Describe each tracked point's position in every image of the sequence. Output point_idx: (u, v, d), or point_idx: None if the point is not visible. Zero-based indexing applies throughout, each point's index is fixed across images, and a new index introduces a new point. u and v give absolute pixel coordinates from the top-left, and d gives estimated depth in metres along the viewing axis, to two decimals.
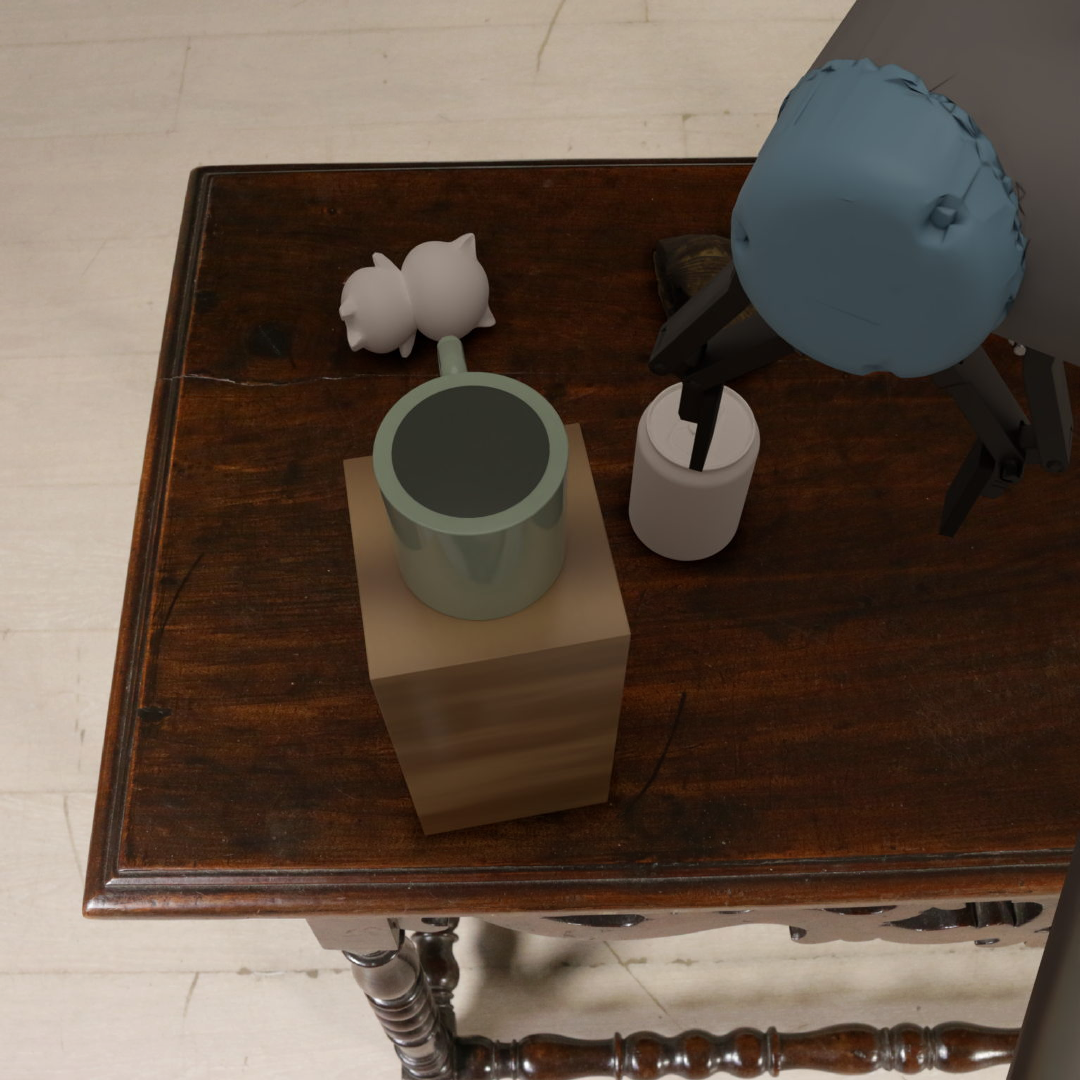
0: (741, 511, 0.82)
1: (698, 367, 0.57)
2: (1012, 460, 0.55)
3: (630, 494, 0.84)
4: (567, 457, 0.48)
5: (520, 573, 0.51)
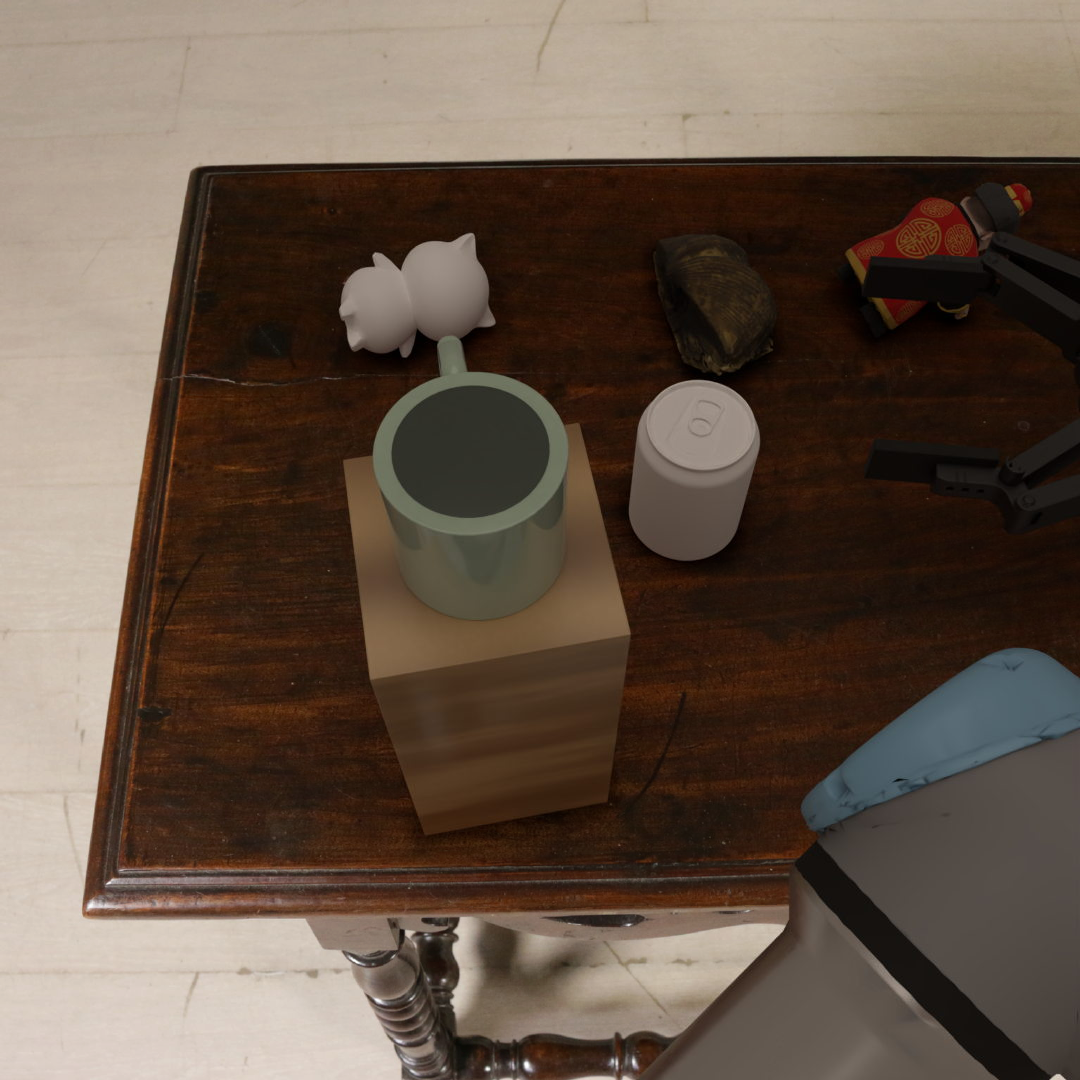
0: (741, 511, 0.82)
1: None
2: None
3: (630, 494, 0.84)
4: (567, 457, 0.48)
5: (520, 573, 0.51)
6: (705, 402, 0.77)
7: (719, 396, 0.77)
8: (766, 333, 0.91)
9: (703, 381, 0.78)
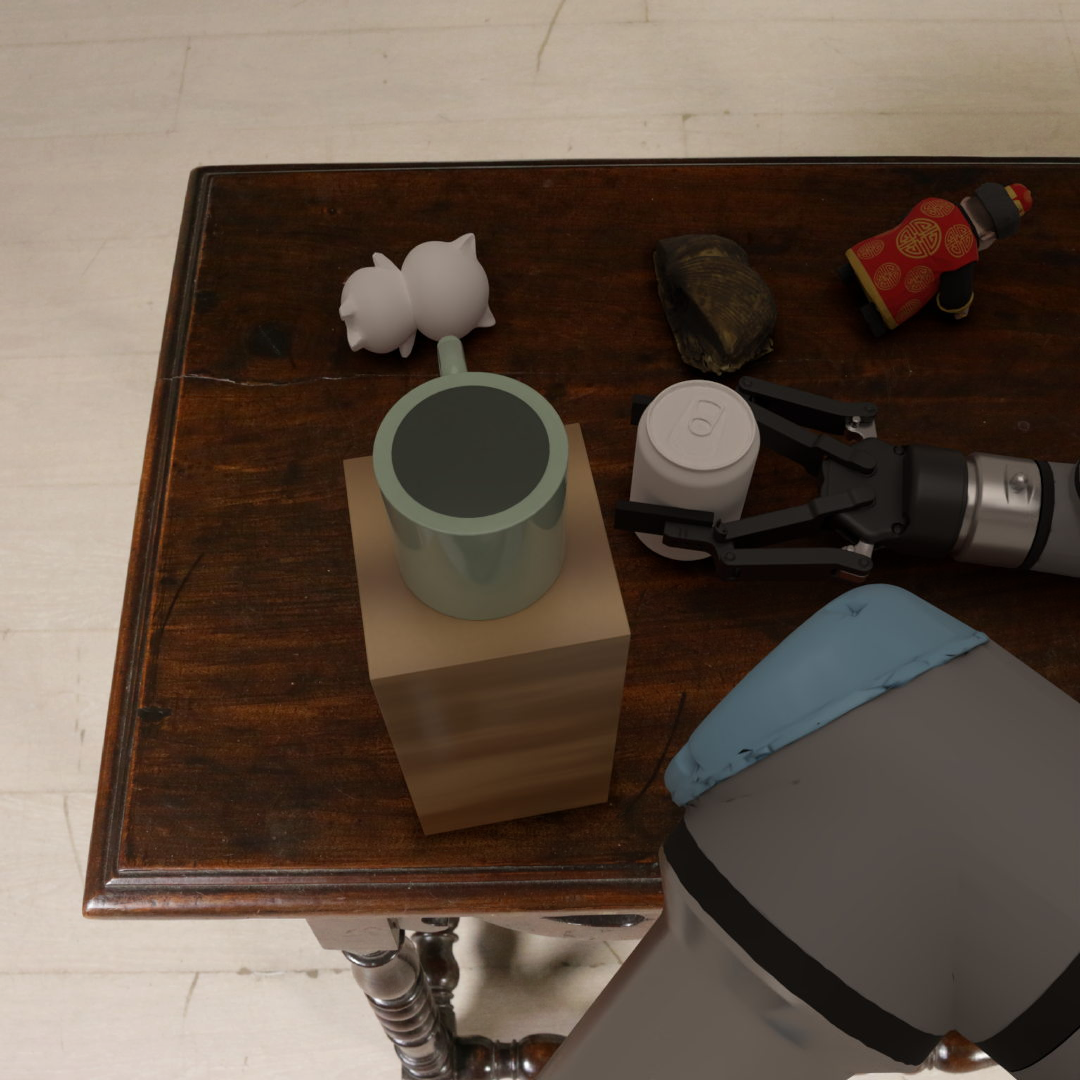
0: (741, 511, 0.82)
1: None
2: None
3: (630, 494, 0.84)
4: (567, 457, 0.48)
5: (520, 573, 0.51)
6: (705, 402, 0.77)
7: (719, 396, 0.77)
8: (766, 333, 0.91)
9: (703, 381, 0.78)
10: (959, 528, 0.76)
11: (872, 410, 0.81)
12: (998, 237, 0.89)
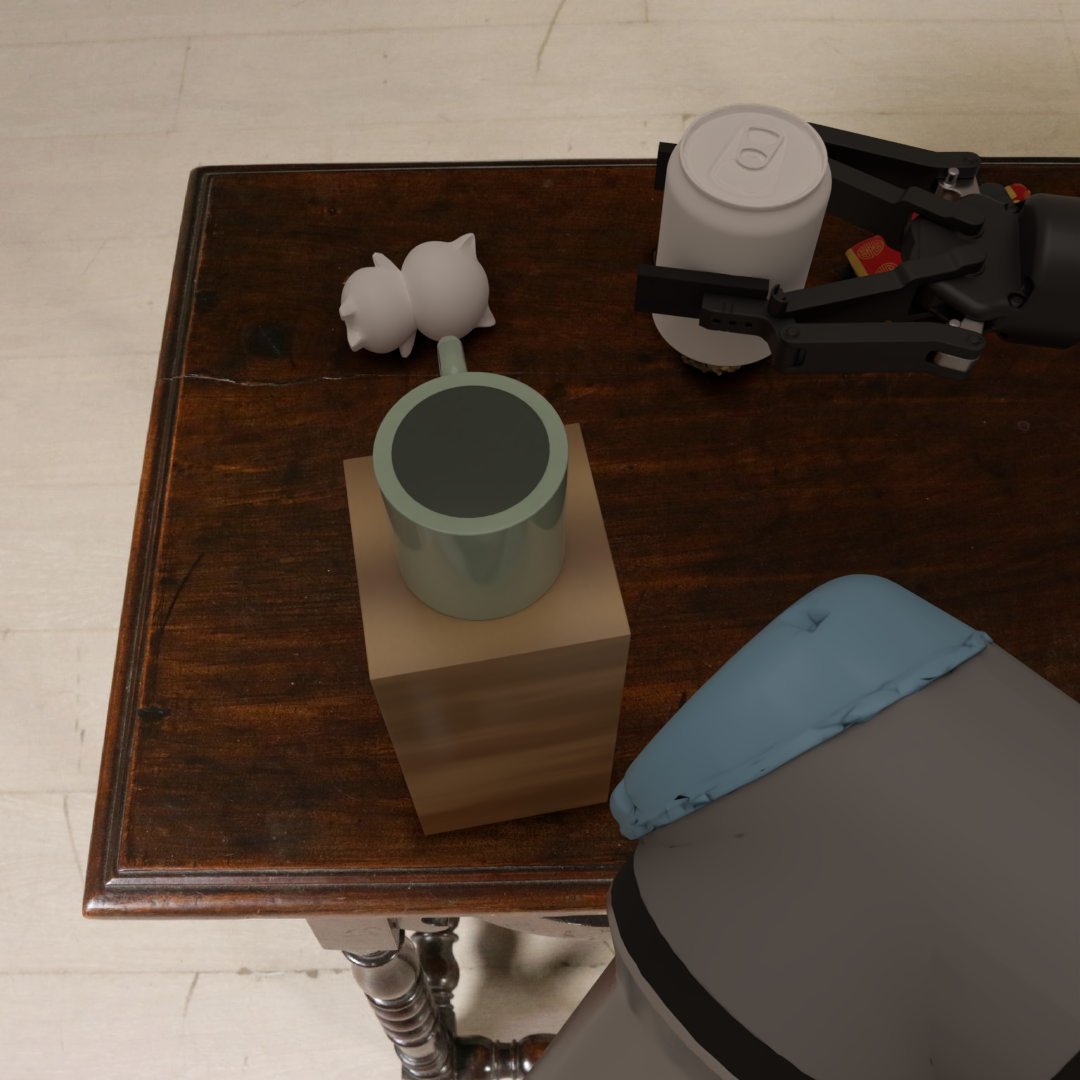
0: None
1: None
2: None
3: None
4: (567, 457, 0.48)
5: (520, 573, 0.51)
6: (758, 130, 0.57)
7: (777, 123, 0.58)
8: None
9: (755, 104, 0.58)
10: None
11: (974, 161, 0.62)
12: None
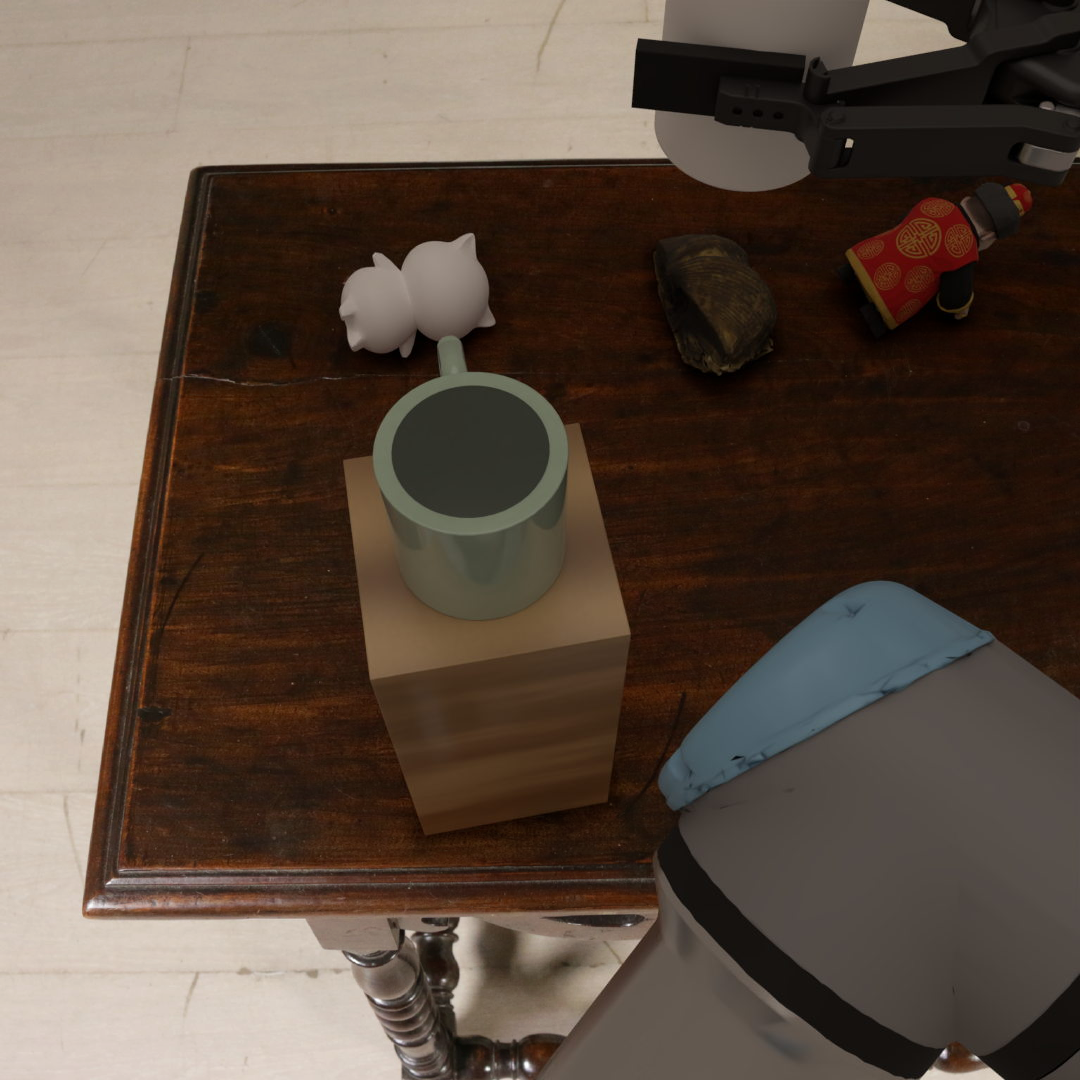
0: None
1: None
2: None
3: None
4: (567, 457, 0.48)
5: (520, 573, 0.51)
6: None
7: None
8: (766, 333, 0.91)
9: None
10: None
11: None
12: (998, 237, 0.89)
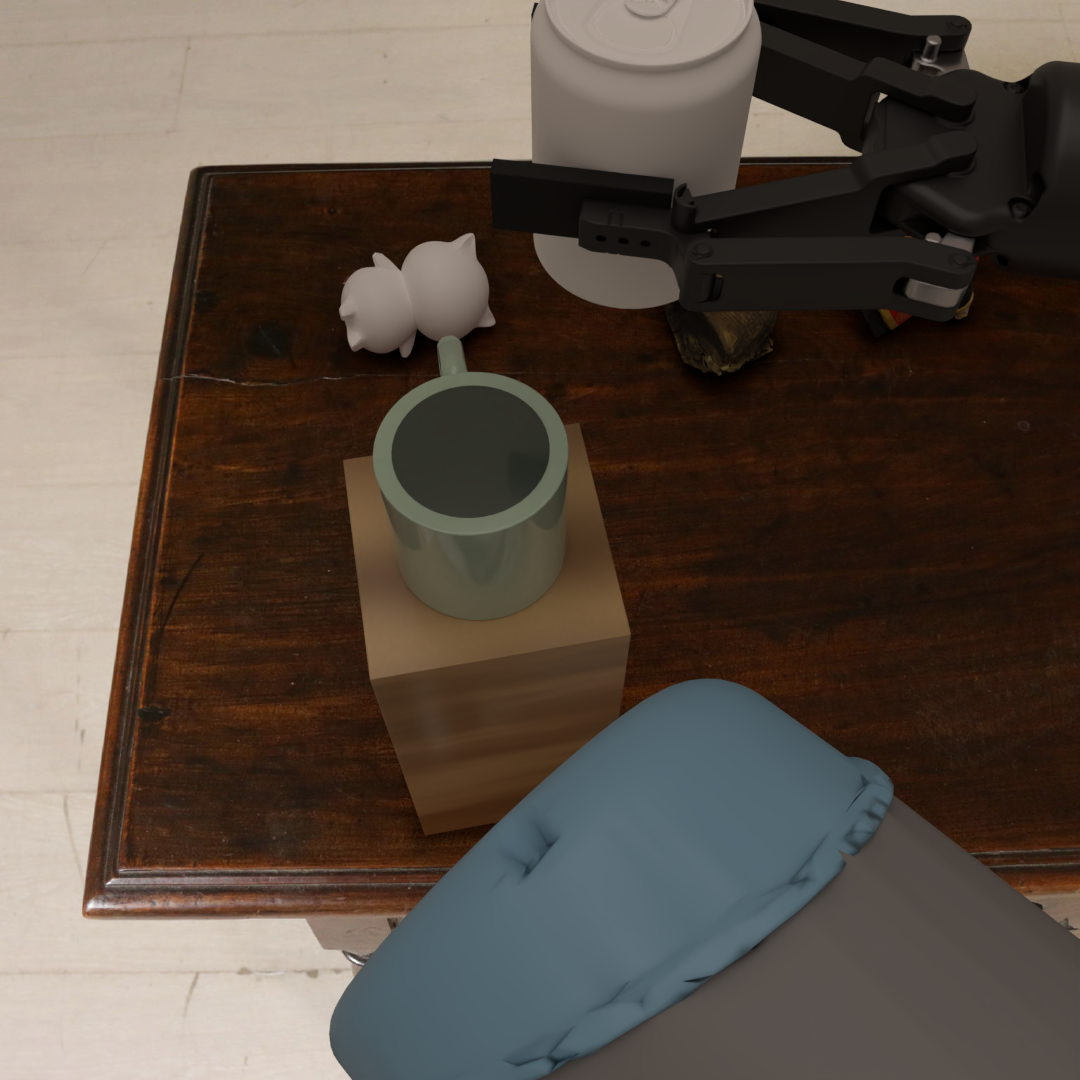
0: None
1: None
2: None
3: None
4: (567, 457, 0.48)
5: (520, 573, 0.51)
6: None
7: None
8: (766, 333, 0.91)
9: None
10: None
11: (962, 26, 0.45)
12: None
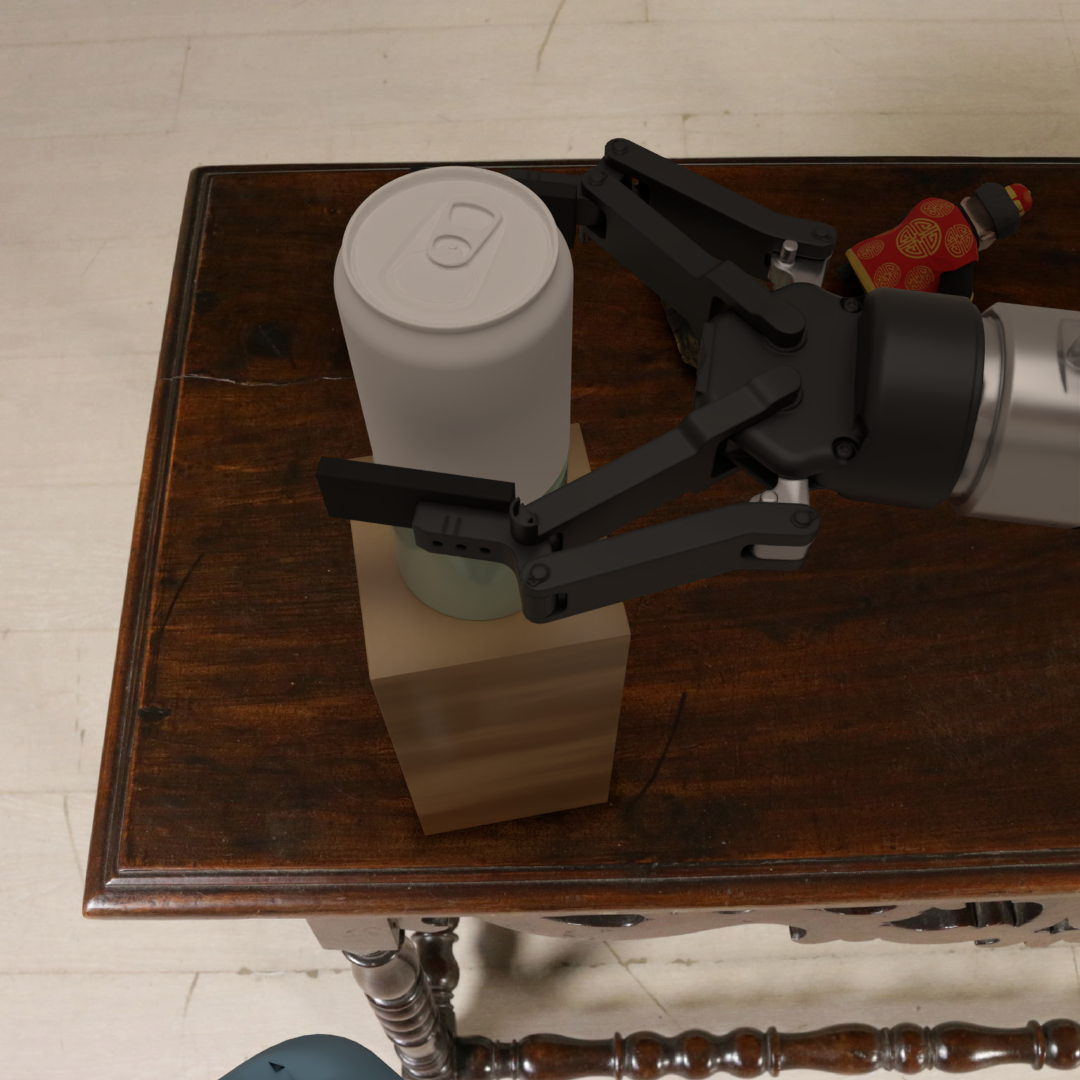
0: (561, 431, 0.44)
1: None
2: None
3: None
4: (567, 457, 0.48)
5: None
6: (468, 207, 0.39)
7: (495, 196, 0.39)
8: None
9: (466, 168, 0.40)
10: (967, 445, 0.38)
11: (825, 237, 0.43)
12: (998, 237, 0.89)
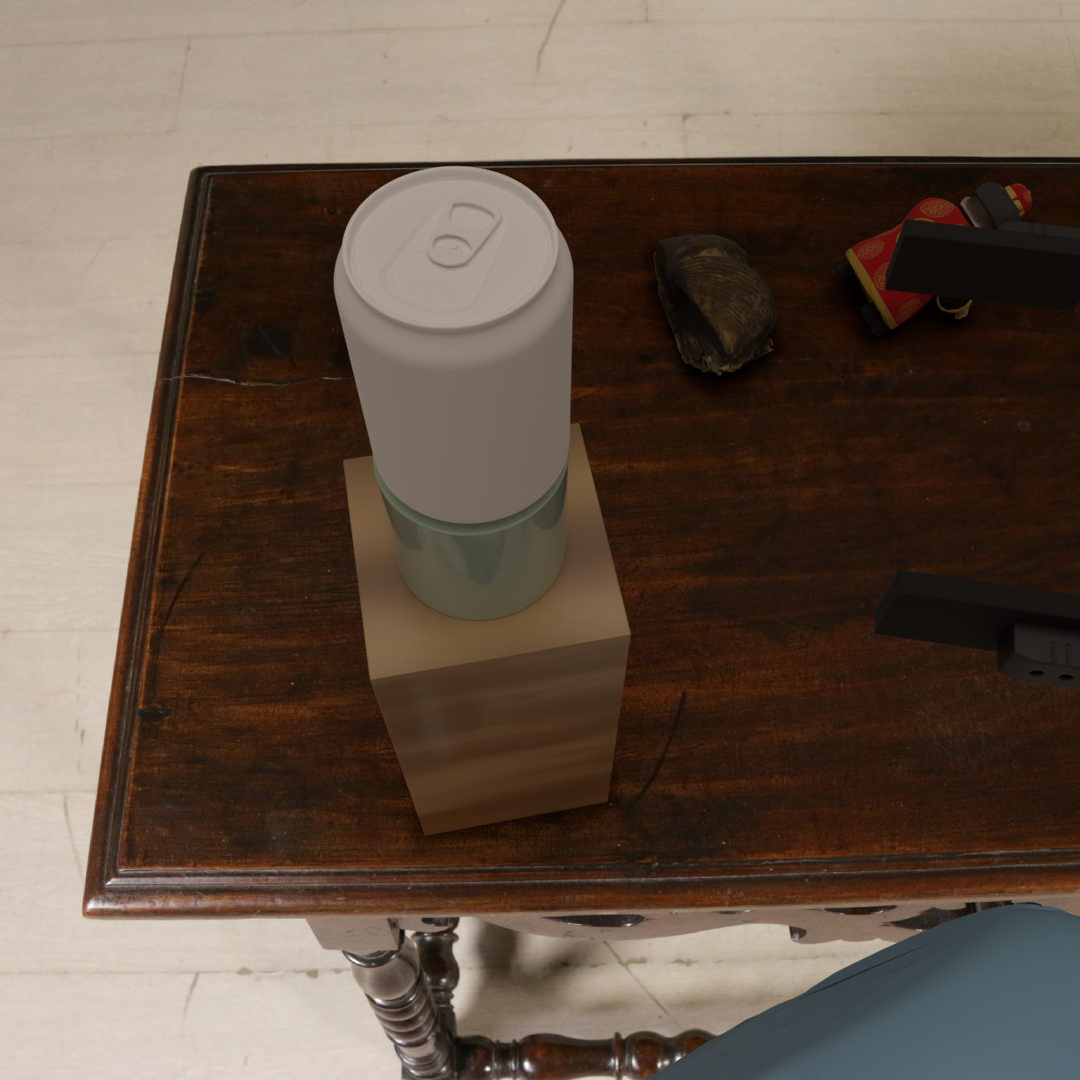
0: (561, 431, 0.44)
1: None
2: None
3: None
4: (567, 457, 0.48)
5: (520, 573, 0.51)
6: (468, 207, 0.39)
7: (495, 196, 0.39)
8: (766, 333, 0.91)
9: (466, 168, 0.40)
10: None
11: None
12: None
